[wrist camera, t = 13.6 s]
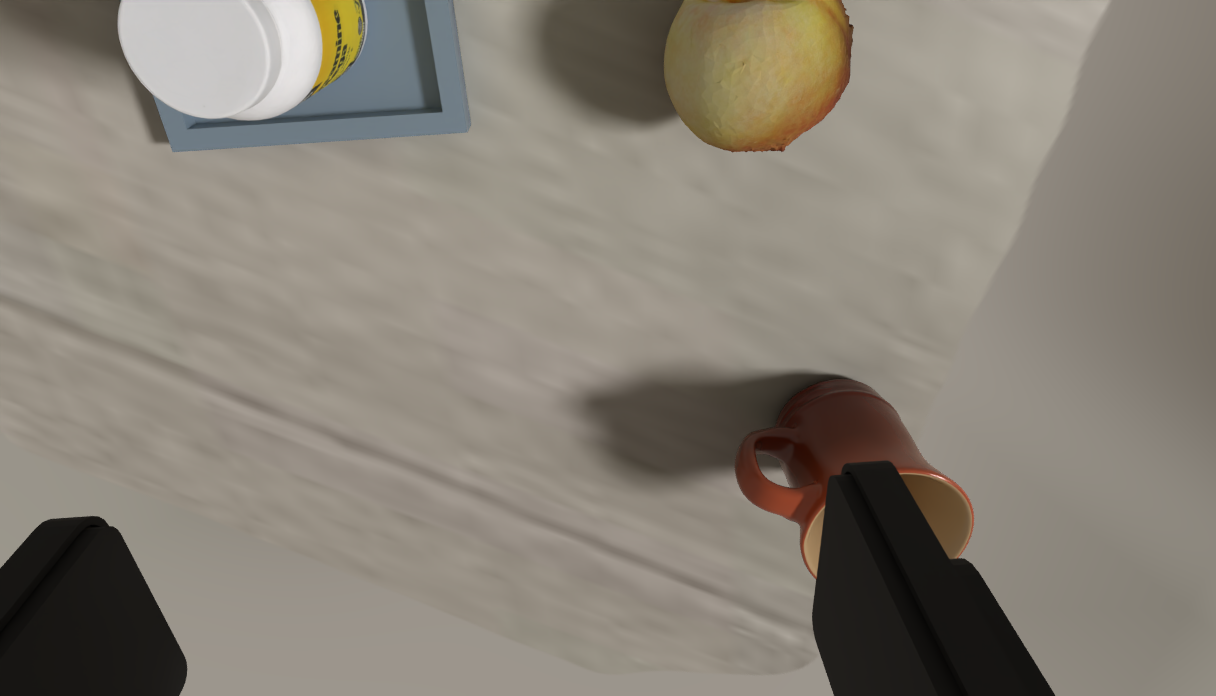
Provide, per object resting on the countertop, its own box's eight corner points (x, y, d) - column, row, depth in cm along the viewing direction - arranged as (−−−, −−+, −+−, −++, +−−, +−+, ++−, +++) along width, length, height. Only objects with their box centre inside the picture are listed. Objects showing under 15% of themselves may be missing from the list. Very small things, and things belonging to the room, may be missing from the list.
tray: (97, -120, 31) (76, -122, 30) (432, -142, 31) (425, -144, 30) (187, 143, 37) (172, 152, 35) (471, 124, 37) (467, 132, 35)
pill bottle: (328, 110, 36) (239, 180, 26) (205, 21, 34) (58, 62, 24) (397, -1, 33) (327, 31, 24) (269, -103, 31) (135, -113, 22)
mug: (923, 380, 46) (1009, 492, 37) (857, 487, 50) (919, 611, 41) (744, 330, 43) (788, 437, 34) (689, 446, 47) (716, 568, 38)
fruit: (837, -42, 34) (905, -32, 27) (788, 140, 38) (836, 190, 31) (673, -71, 33) (700, -68, 26) (641, 119, 37) (657, 165, 30)
